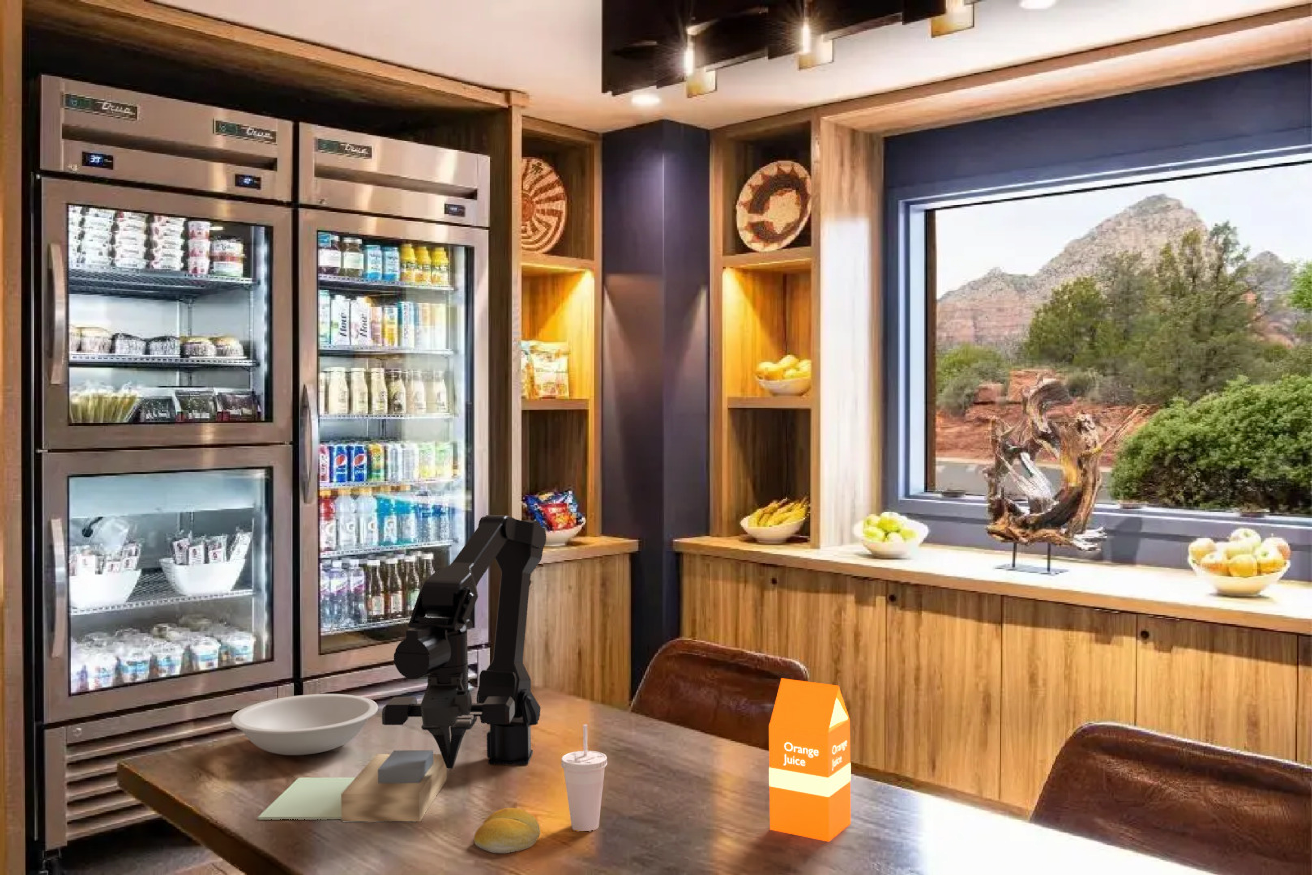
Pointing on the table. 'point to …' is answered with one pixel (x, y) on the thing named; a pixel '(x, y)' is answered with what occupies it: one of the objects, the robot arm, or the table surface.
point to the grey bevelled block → (405, 766)
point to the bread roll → (507, 831)
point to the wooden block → (391, 794)
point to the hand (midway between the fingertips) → (450, 767)
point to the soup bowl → (304, 722)
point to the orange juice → (809, 761)
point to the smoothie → (584, 785)
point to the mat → (309, 800)
